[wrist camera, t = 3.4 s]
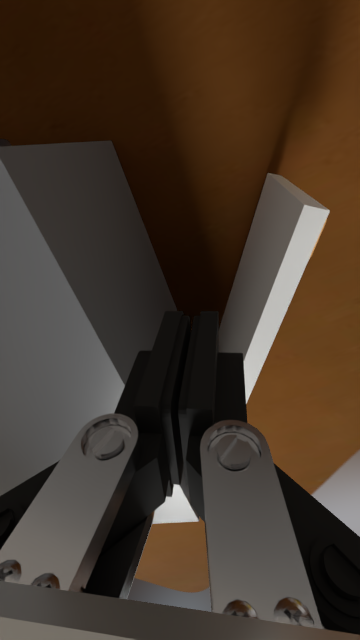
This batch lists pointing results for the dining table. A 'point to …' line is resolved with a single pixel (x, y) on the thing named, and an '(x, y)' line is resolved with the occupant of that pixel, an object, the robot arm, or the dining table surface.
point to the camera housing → (71, 302)
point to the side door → (269, 271)
